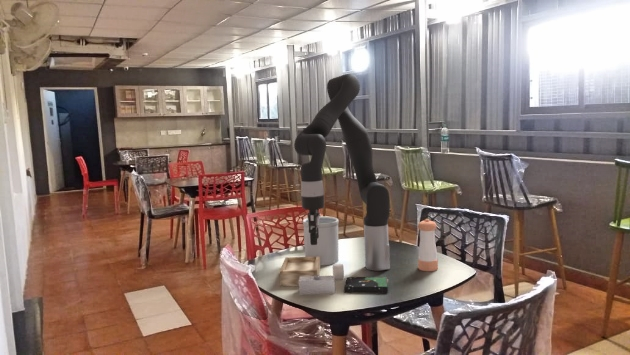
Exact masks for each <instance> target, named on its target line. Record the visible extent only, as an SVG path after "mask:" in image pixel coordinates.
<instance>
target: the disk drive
mask: <svg viewBox="0 0 630 355" xmlns="http://www.w3.org/2000/svg"><path fill="white" fill-rule="evenodd" d="M343 292H344V294H345V293H347V294H349V293H350V294H351V293H352V294H354V293H357V294H362V293H363V294H368V293H369V294H388V293H389V277H385V276H384V277H383V276H346V279H345V284H344V286H343Z"/></svg>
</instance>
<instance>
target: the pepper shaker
mask: <svg viewBox="0 0 630 355" xmlns="http://www.w3.org/2000/svg"><path fill="white" fill-rule="evenodd" d="M418 222H419V221H418ZM437 226H438V225H437V223H436V222H435V221H432V220H430V219H429V218H425V219H424V220H422V221H420V222H419V223H418V224H417V229H418V230H419V246H418V260H417V267H418V270H420V271H423V272H434V271H437V270H438V269H439V265H438V264H439V263H438V262H439V260H438V258H437V256H438V255H437V246H436V234H435V233H436V232H435V230H436V229H437Z"/></svg>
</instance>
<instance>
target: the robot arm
mask: <svg viewBox="0 0 630 355" xmlns="http://www.w3.org/2000/svg"><path fill="white" fill-rule="evenodd" d="M360 86H361V85H360V82H359V79H358V78H357V76H356V75H355V74H354V73H353V74H352V73H345V74H343V75H339V76H336V77H333V78H330V79H329V80H328V81H327V84H326V91H327V95H328V98H329V101H328V102H327V103H326V104H325V105H324V106H323V107H321V109H320V110H318V112H317V113H316V115H315V117H314V118H313V120H312V121H311V123H310V124H309V125H307V126H306V127H305V128H304V129H303V130H302V131H301V132H299V134H297V136H296V137H295V140H294V145H293V146H294V147H293V148H294V151H295V152H296V154H298V155H300V156H311V159H310V161H308V162H304V163H302V164H301V167H300V178H301V182H300V183H301V185H300V194H301V209H304V210H308V211H309V212H308V213H307V215H306V216H307V217H306V218H308V227H309V233H310V243H311V245H317V239H318V238H319V230H318V227H319V223H320V219H319V218H320V217H321V216H320V215H321V214H320V212H319V211H320V210H321V209H323V208H324V207H325V190H324V183H323V165H324V158H325V154H326V151H327V141H326V139H325V138H326V137H328V135H329V134H330V132H331V131H332V129H333V127H334V126H335V124H336V123H337V121H338V123H339V126H340V129H341V132H342V136H343V139H344V144H345V145H346V146H345V147H346V149H347V152H348V154H349V157H350V158H349V159H350V161H351V165H352V168H353V169H354V172H355V175H356V181H357V186H358V191H359V196H360V199H361V201H362V202H363V203H364V204H365V205H366V215H365V216H364V218H363V231H364V232H363V233H364V256H365V259H364V260H365V262H364V263H365V269H367V270H368V271H369V270H370V271H386V270H390V269H391V261H390V260H391V257H390V243H389V218H390V212H391V210H390V208H391V206H390V204H391V203H390V202H391V199H390V192H389V189H388V188H387V186H385V185H384V184H381V183H379V182H378V179H377V176H376V174H375V171H374V166H373V159H374V158H373V146H372V140H371V138H370V135H369V132H368V130H367V128H366V127H365V126H364V125H363V124H362V123H361V122H360V121H359V120H358V119H357V118H356V117H355V116H354V115H353V113H352V112H351V110H350V108H349V105H350V104H351V103H353V101H354V100H355V98H357V96H358V95H359V93H360V90H361V89H360V88H361V87H360ZM311 228H312V229H311Z"/></svg>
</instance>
